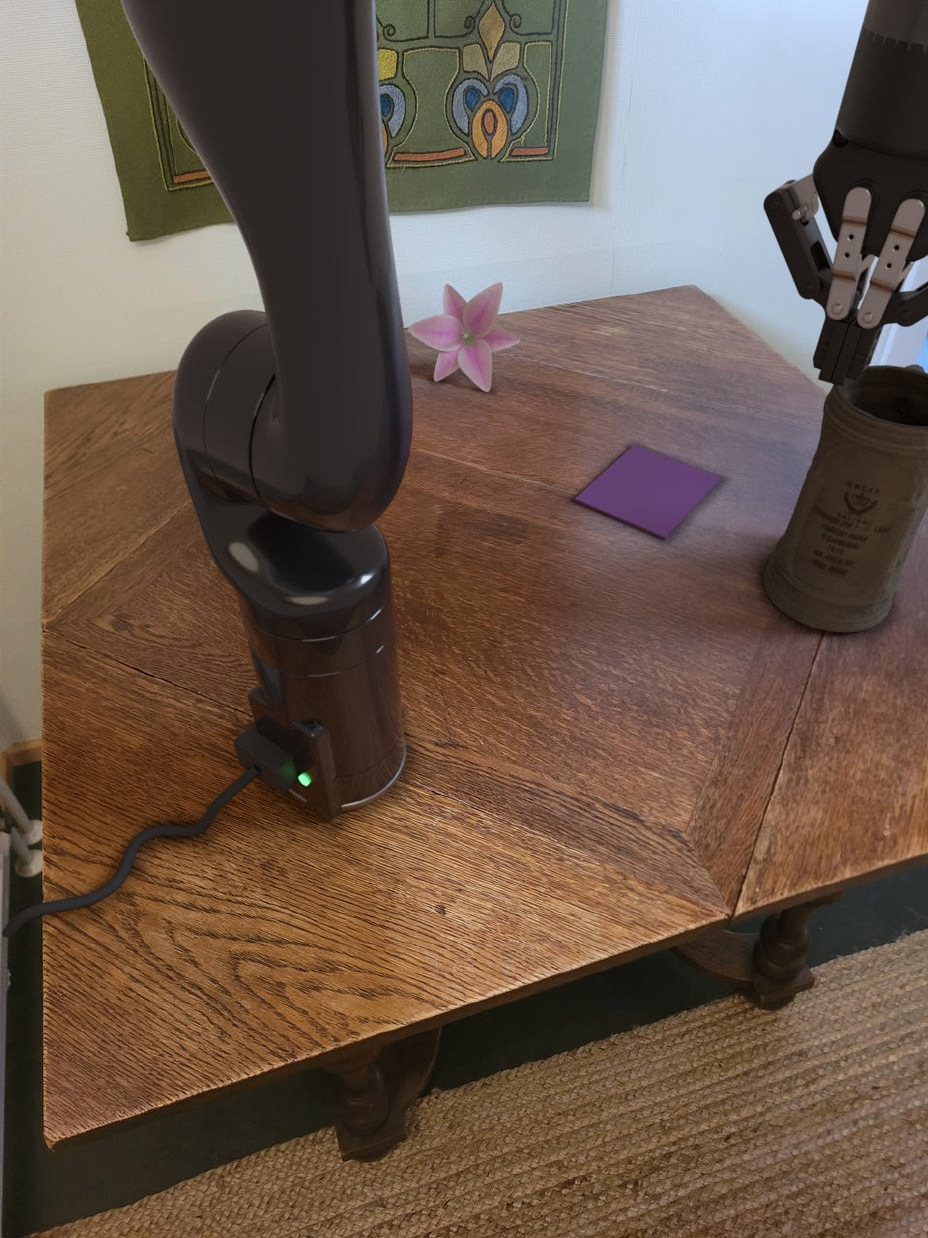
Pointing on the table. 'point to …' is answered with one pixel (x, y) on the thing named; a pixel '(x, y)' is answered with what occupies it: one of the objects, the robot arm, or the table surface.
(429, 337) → the lily
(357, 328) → the robot arm
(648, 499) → the cloth
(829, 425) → the beer stein
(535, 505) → the table surface
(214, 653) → the table surface
